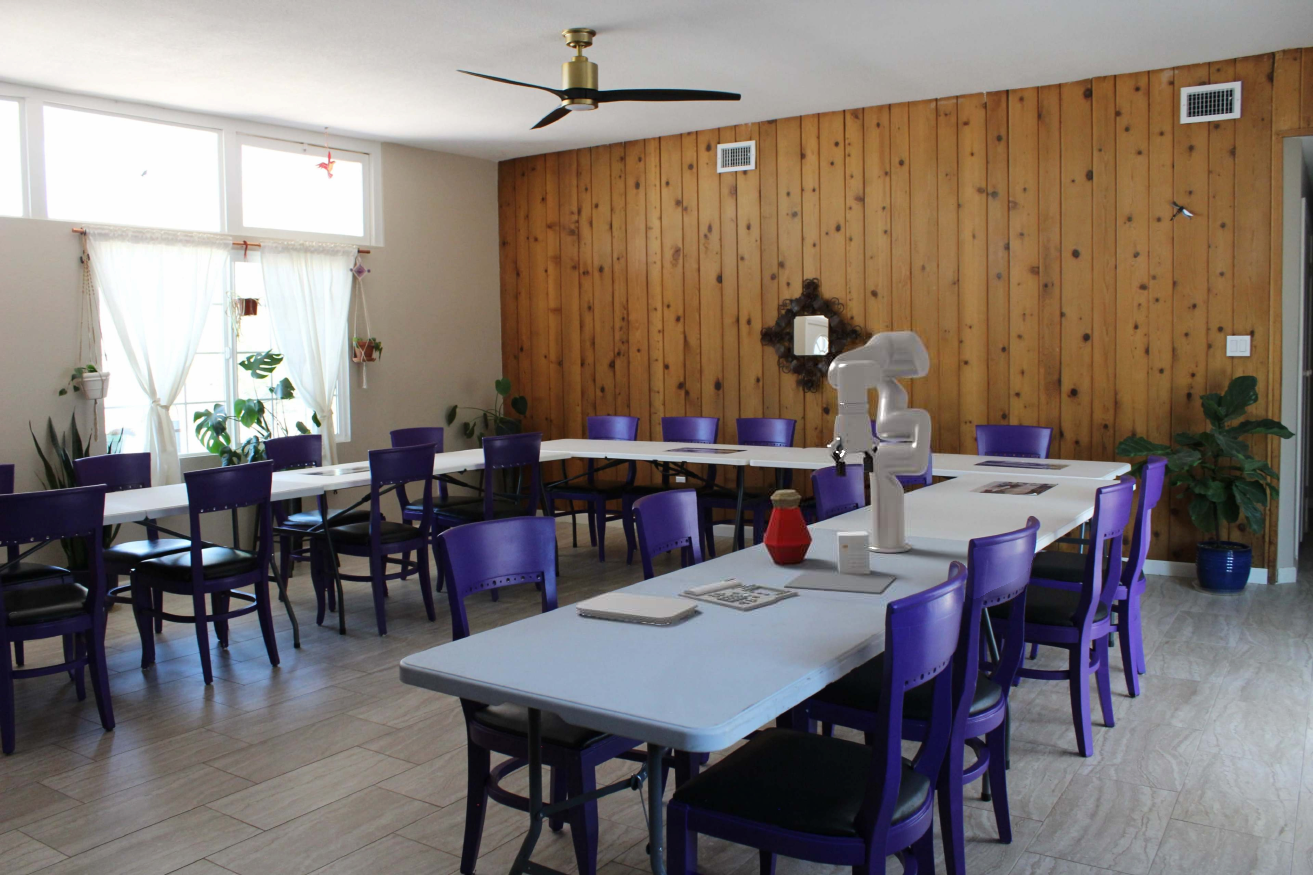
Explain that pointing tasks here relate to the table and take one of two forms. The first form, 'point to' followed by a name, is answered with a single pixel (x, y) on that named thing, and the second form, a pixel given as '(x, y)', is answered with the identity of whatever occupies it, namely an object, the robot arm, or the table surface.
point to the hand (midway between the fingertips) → (854, 474)
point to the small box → (853, 552)
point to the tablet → (637, 608)
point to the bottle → (787, 529)
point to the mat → (841, 582)
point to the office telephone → (737, 594)
